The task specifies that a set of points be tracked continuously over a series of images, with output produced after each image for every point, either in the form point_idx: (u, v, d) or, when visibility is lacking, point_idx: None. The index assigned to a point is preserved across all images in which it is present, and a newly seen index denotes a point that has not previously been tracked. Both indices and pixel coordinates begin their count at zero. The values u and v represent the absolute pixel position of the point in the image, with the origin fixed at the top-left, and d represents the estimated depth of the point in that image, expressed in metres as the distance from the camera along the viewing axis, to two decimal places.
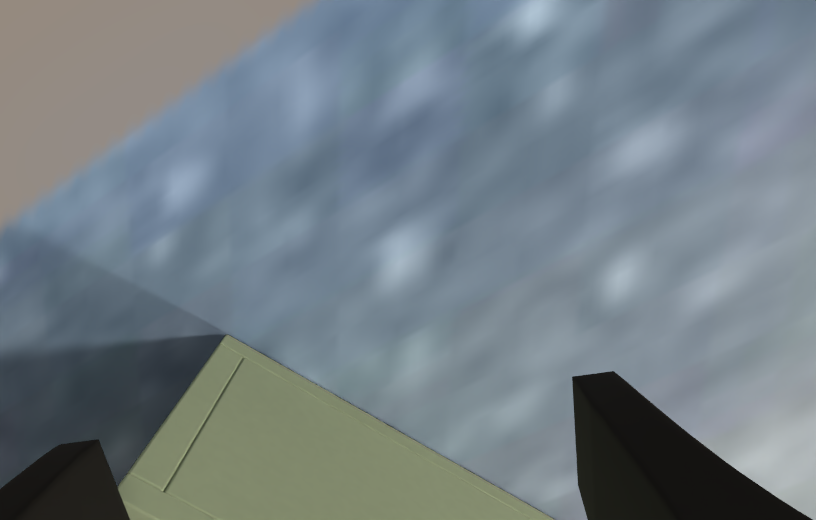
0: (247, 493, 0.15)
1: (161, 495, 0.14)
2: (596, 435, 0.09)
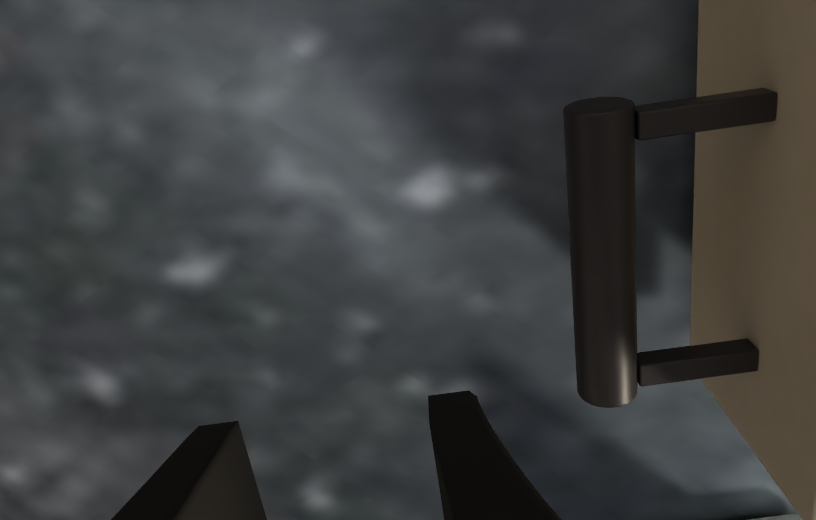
0: None
1: None
2: (435, 456, 0.09)
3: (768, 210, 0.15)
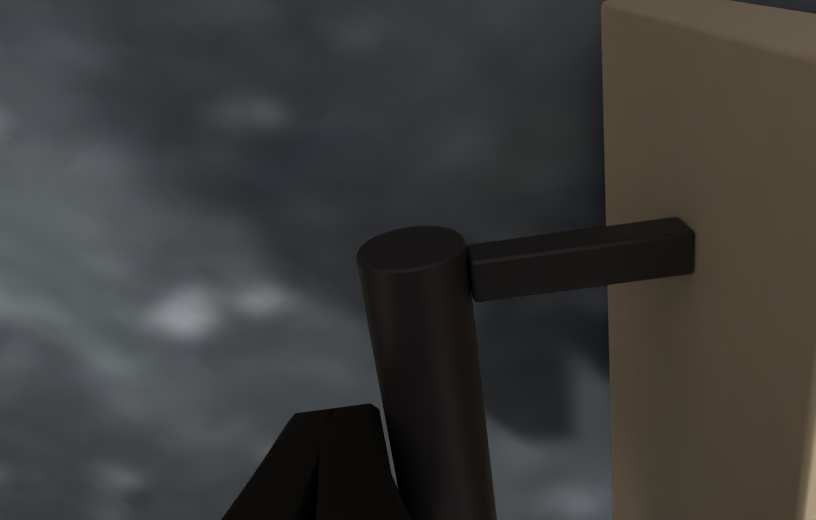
0: None
1: None
2: None
3: (688, 398, 0.10)
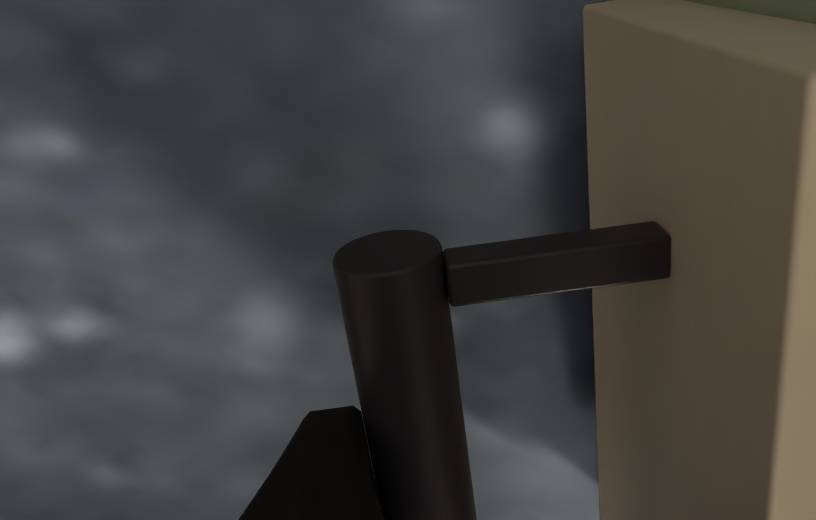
0: None
1: None
2: None
3: (666, 402, 0.10)
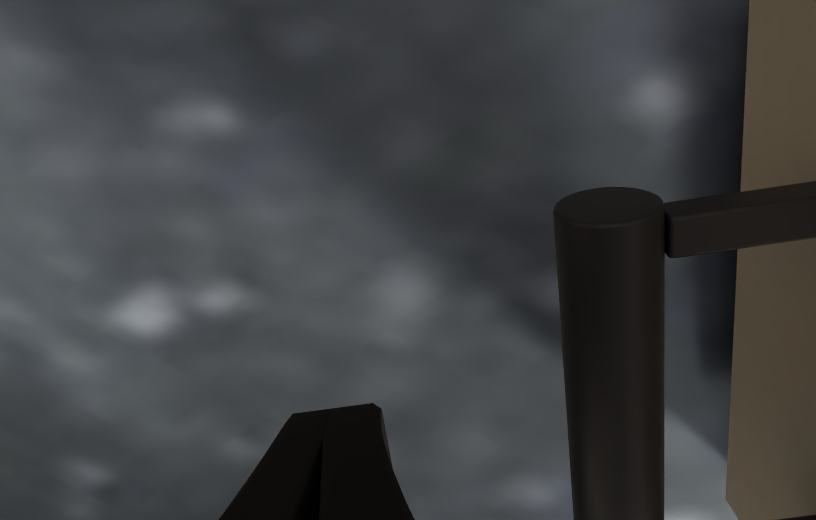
0: None
1: None
2: None
3: None
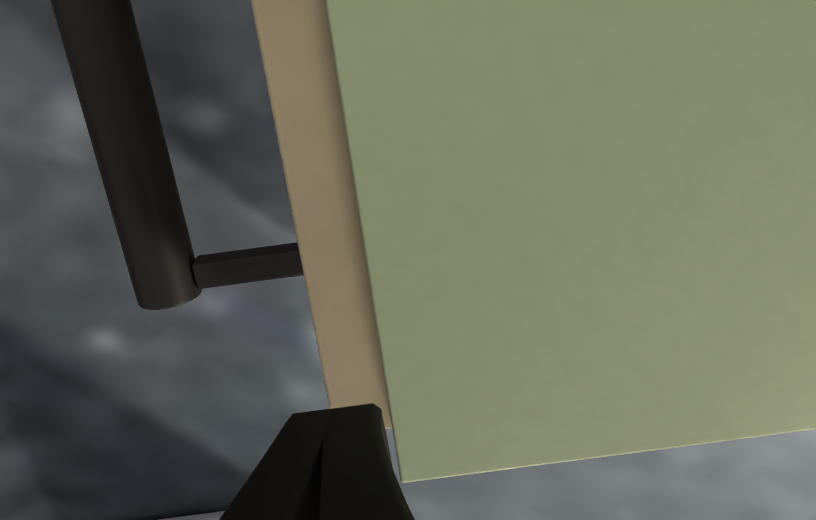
0: None
1: None
2: None
3: None
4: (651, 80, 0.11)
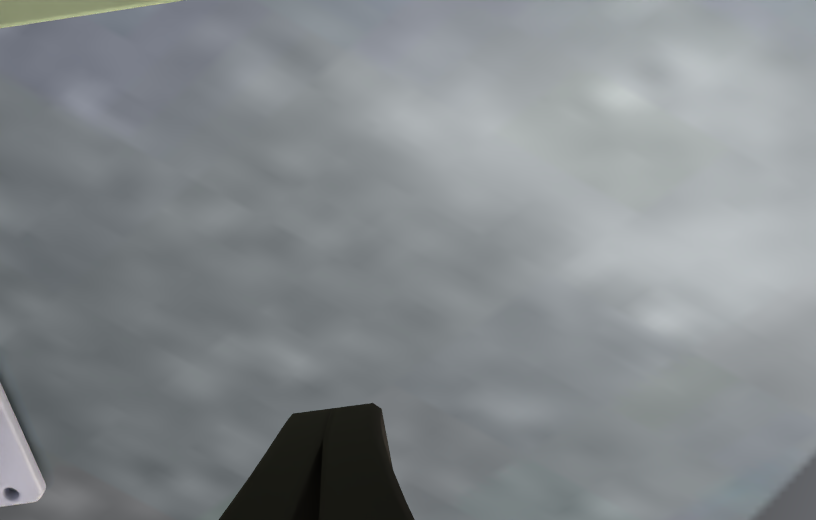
0: None
1: None
2: None
3: None
4: None
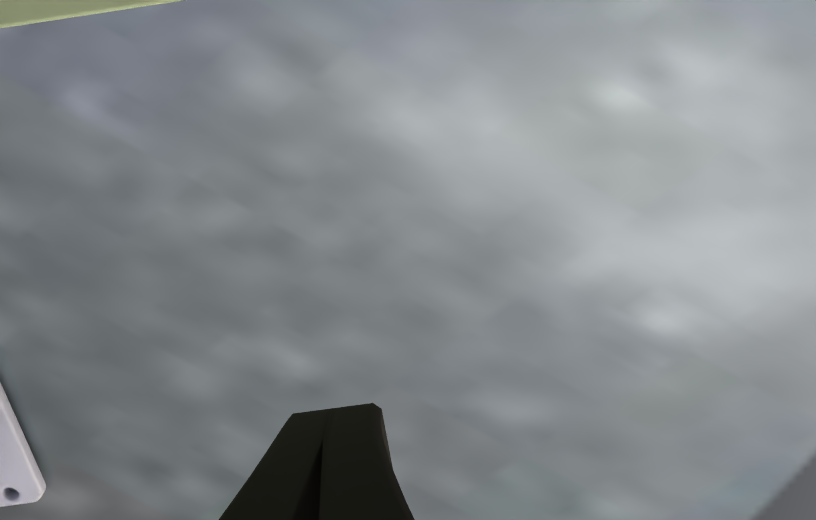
0: None
1: None
2: None
3: None
4: None
